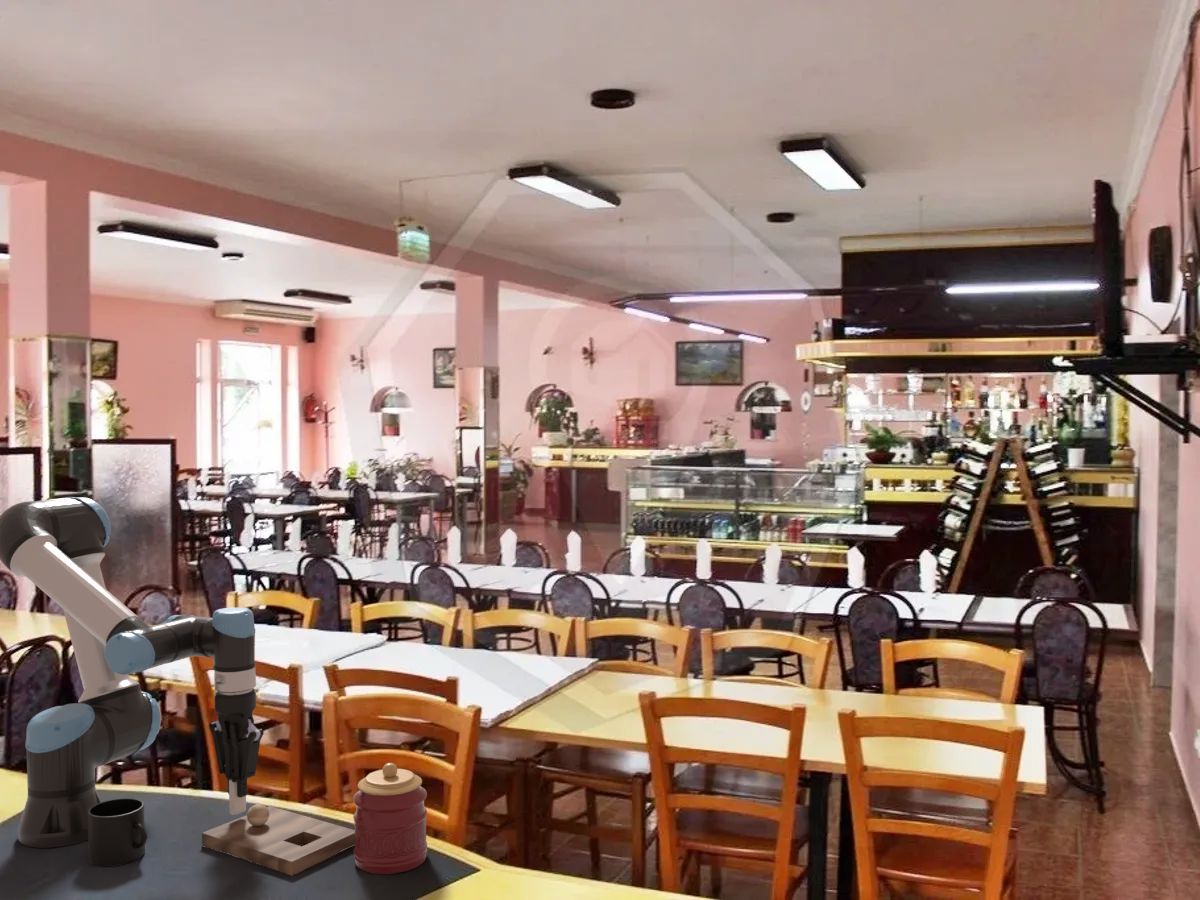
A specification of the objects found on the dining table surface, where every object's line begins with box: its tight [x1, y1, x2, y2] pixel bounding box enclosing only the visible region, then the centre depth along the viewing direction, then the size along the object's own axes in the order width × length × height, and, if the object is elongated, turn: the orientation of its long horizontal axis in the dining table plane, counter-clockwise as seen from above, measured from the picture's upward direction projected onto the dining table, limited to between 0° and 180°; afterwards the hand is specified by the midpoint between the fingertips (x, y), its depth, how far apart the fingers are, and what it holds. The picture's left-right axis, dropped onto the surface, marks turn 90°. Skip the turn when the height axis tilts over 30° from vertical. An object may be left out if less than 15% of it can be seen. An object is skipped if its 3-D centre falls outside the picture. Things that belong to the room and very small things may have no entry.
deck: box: [201, 805, 355, 877], centre depth 205 cm, size 24×16×2 cm, turn 58°
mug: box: [87, 797, 147, 867], centre depth 199 cm, size 9×12×9 cm
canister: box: [352, 762, 428, 875], centre depth 198 cm, size 13×13×18 cm
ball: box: [246, 803, 269, 826], centre depth 208 cm, size 4×4×4 cm
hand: (237, 812), depth 211 cm, fingers closed
